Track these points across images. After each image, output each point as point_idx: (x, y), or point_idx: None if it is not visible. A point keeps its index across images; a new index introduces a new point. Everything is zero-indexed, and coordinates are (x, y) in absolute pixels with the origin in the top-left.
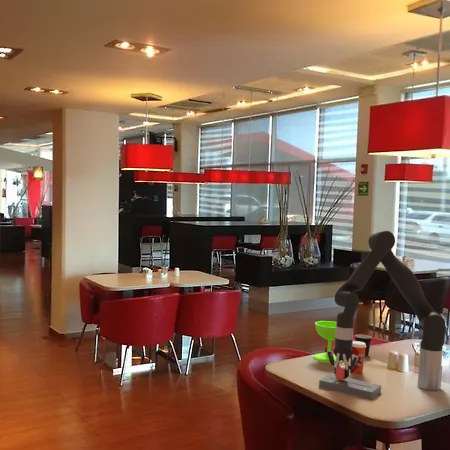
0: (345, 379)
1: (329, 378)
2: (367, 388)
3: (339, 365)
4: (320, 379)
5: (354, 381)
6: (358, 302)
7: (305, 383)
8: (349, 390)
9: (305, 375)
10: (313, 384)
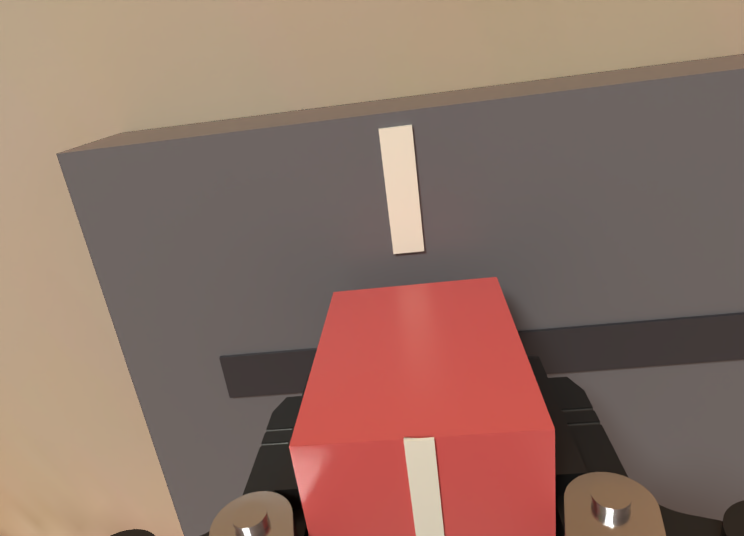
0: (445, 245)
1: (230, 400)
2: None
3: (313, 524)
4: (182, 525)
5: (630, 227)
6: None
7: (42, 477)
8: None
9: None
10: (118, 444)
